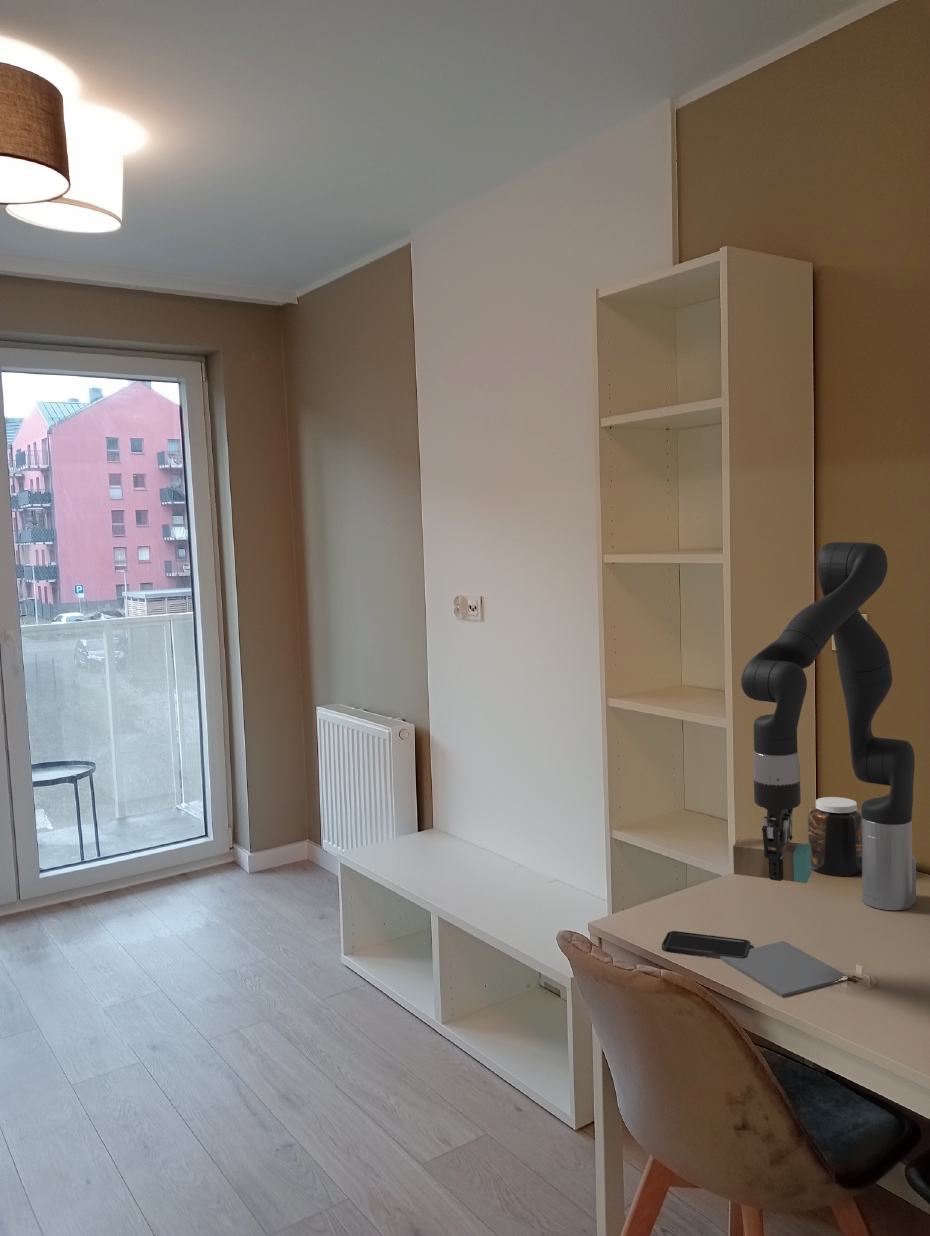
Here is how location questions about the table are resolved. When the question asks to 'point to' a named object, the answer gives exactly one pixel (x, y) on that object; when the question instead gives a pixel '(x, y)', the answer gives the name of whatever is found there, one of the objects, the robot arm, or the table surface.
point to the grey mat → (784, 969)
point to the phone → (705, 945)
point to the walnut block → (755, 864)
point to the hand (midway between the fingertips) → (779, 873)
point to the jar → (835, 837)
